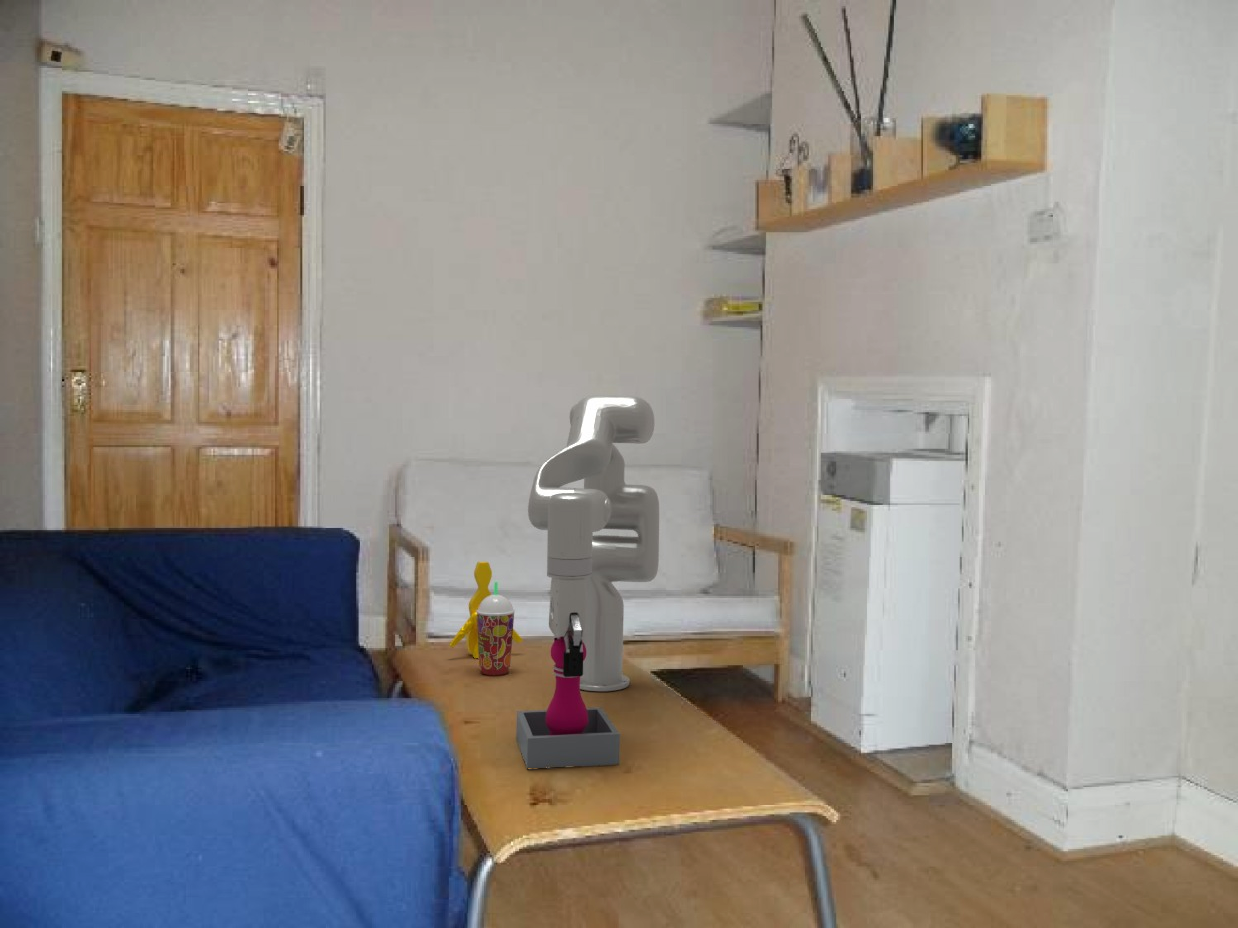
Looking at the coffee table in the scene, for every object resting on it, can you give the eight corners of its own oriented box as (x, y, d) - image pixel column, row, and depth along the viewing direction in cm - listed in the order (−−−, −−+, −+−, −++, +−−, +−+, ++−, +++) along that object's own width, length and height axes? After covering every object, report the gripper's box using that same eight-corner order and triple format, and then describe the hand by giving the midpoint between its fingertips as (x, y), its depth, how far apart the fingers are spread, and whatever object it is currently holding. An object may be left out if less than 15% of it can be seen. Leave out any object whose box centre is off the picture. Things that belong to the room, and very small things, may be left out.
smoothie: (470, 669, 218) (472, 580, 217) (506, 666, 221) (508, 578, 220) (481, 678, 210) (483, 586, 209) (518, 675, 214) (520, 584, 213)
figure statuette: (450, 662, 224) (451, 566, 223) (443, 654, 231) (444, 561, 230) (525, 656, 231) (526, 563, 230) (515, 649, 238) (517, 559, 237)
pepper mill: (549, 753, 160) (552, 632, 159) (541, 739, 167) (543, 623, 166) (592, 750, 162) (595, 631, 161) (582, 736, 169) (585, 622, 168)
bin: (516, 739, 170) (516, 711, 170) (600, 735, 173) (601, 707, 173) (527, 769, 156) (527, 738, 155) (619, 764, 159) (619, 733, 159)
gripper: (540, 559, 171) (538, 655, 172) (555, 576, 154) (553, 683, 155) (582, 558, 173) (580, 654, 174) (601, 575, 156) (600, 681, 157)
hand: (568, 667), depth 165 cm, fingers open, 9 cm apart
